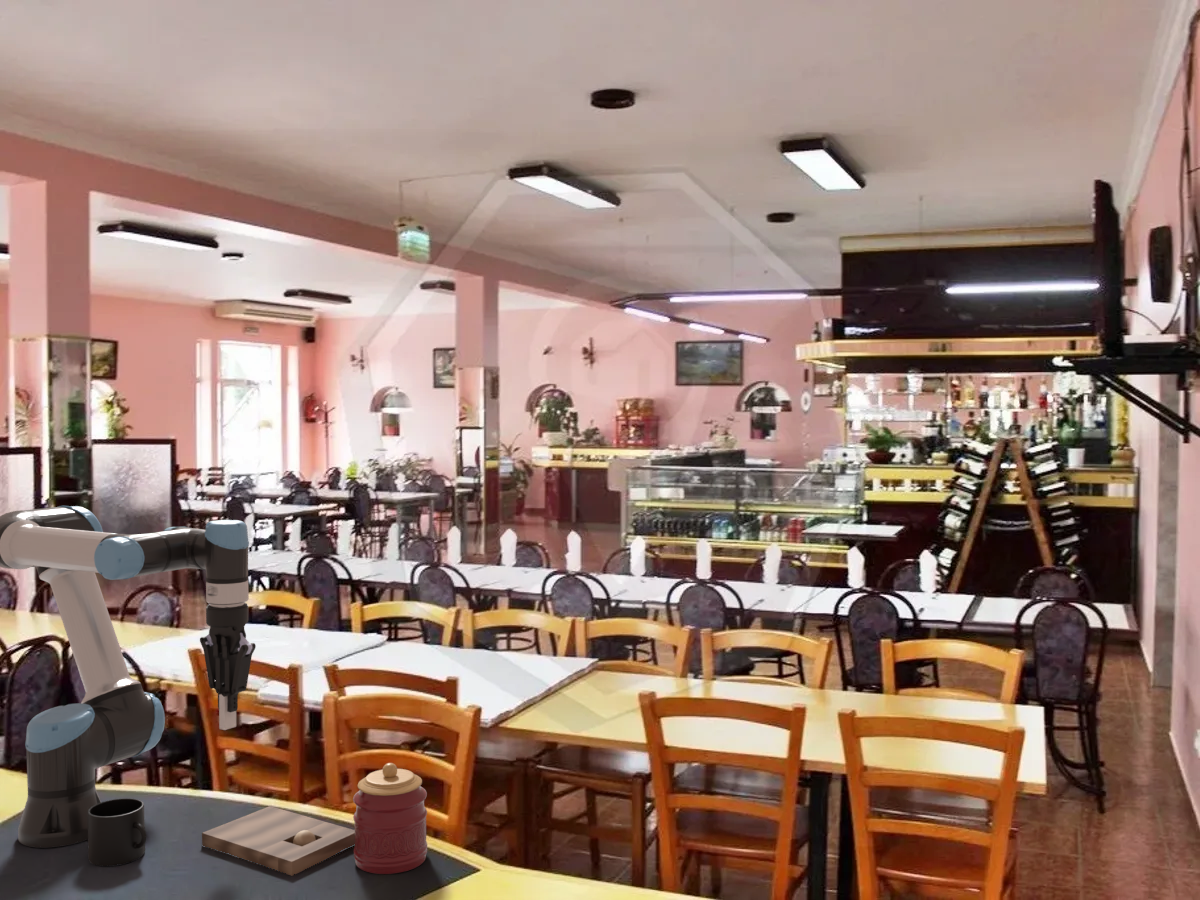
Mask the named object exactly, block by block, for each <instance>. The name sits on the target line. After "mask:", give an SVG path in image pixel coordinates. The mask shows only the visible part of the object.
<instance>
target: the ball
mask: <svg viewBox="0 0 1200 900" xmlns="http://www.w3.org/2000/svg"><path fill="white" fill-rule="evenodd" d="M315 840H316V838H315V836H314V834H313V833H312V832H310V831H308V830H303V831H300V832H299V833H297V834H296V836H295V837H294V840H293V844H295V845H299V846H304V845H307V844H309V843H311V842H313V841H315Z"/></svg>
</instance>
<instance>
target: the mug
mask: <svg viewBox="0 0 1200 900" xmlns="http://www.w3.org/2000/svg"><path fill="white" fill-rule="evenodd" d="M87 819H88V840H87V849H88V852H87V853H88V854H87V855H88V857H87V858H88V862H89V863H90V864H91V865H93V866H96V867H117V866H122V865H125V864H129V863H132V862H134V861H136V860H139V859H141V858H142V857H143V855H144V854H145V852H146V843H147V832H146V830H145V825H146V824H145V821H146V819H145V803H144V801H142V800H140V799H137V798H125V797H124V798H115V799H109V800H105V801H101V803H98V804H96V805H94V806H92V807H91V808H89V810H88V812H87Z"/></svg>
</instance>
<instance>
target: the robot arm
mask: <svg viewBox="0 0 1200 900" xmlns="http://www.w3.org/2000/svg"><path fill="white" fill-rule="evenodd" d="M249 545H250V542H249V533H248V526H247V524H246V523H245V522H244V521H242V520H238V519H233V520H232V519H219V520H218V519H217V520H210V521H208V522H207V523H206V524H205V529H201V528H194V527H193V528H192V527H188V526H184V525H183V526H169V527H167V528H165V529H164V530H162V531H155V532H149V533H141V534H140V533H139V534H125V533H116V532H115V533H113V532H104V530H103V527H102V524H101V523H100V521H99V519H98V518H97V516H95V514H94V513H93V512H92V511H91V510H89V509H87V508H85V507H83V506H78V505H75V506H74V505H73V506H72V505H71V506H69V505H59V506H57V507H56V506H55V507H47V508H46V507H44V508H35V509H25V510H13V511H9V512H6V513H3V514H2V515H1V514H0V568H3V569H8V570H9V569H10V570H11V569H12V570H27V569H30V568H35V569H36V571H37V575H38V578H39V580H41V581H44V582H46V583H48V584H49V585H50V587H51V590H52V593H53V597H54V600H55V604H56V606H57V609H58V612H59V615H60V618H61V621H62V625H63V627H64V631H65V633H66V636H67V639H68V642H69V645H70V649H71V652H72V655H73V659H74V661H75V664H76V666H77V670H78V673H79V676H80V679H81V683H82V685H83V686H82V687H83V688H84V691H85V694H84V697H83V698H82V700H81V702H79V703H78V702H77V703H68V704H66V705H58V706H54V707H51V708H49V709H46V710H44V711H43V710H42V711H41V712H40V713H38V714H36V715H34V717H32V718H31V720H29V722H28V724H27V726H26V735H25V736H26V737H25V742H24V745H25V749H26V776H27V777H26V778H27V779H26V782H27V784H26V785H27V798H26V803H25V805H24V809H23V812H22V815H21V819H20V821H19V824H18V829H17V830H18V831H17V832H18V833H17V834H18V838H17V839H18V842H19V844H21V845H23V846H26V847H30V848H43V849H44V848H58V847H65V846H71V845H74V844H78V843H81V842H85V841H88V819H87V812H88V810H89V808H91V807H92V806H94V805H96V804H98V803H101V802H102V801H101V799H100V796H99V794H98V791H97V788H96V770H97V769H99V768H102V767H105V766H108V765H110V764H114V763H116V762H119V761H123V760H125V759H129V758H135V757H137V756H139V755H141V754H143V753H145V752H148V751H150V750H152V749H153V748H154V747H156V745H157V744H158V743H159V742H160V740H161V738H162V735H163V732H164V730H165V725H166V724H165V721H166V716H165V710H164V706H163V705H162V702H161V700H160V699H159V698H158V697H156V695H155V694H154V693H150V692H147V691H144V689H143V685H142V683H141V682H140V681H139V680H136V679H134V678H132V677H131V676H130V672H129V670H128V667H127V664H126V661H125V658H124V655H123V652H122V649H121V646H120V642H119V640H118V637H117V634H116V631H115V627H114V625H113V622H112V620H111V619H112V618H111V616H110V613H109V611H108V607H107V605H106V601H105V599H104V595H103V593H102V589H101V587H100V584H99V580H98V578H97V575H96V573H97V574H100V575H101V576H103V578H104V579H106V580H111V581H112V580H114V581H115V580H129V579H131V578H137V577H142V576H147V575H151V574H157V573H158V574H159V573H166V572H170V571H171V572H172V571H177V570H183V569H184V570H185V569H197V570H199V569H200V570H203V571H205V581H206V583H205V586H206V587H205V588H206V589H205V590H206V591H205V602H206V603H208V604H207V606H206V607H205V624H206V625H207V626H209V629H208V634H207V635H206V636H201V637H200V638H199V643H200V645H201V647H202V649H203V656H204V661H205V668H206V673H207V680H208V686H209V688H210V689H214V690H215V693H216V694H217V709H218V711H219V712H218V714H219V715H218V716H219V717H218V722H219V723H218V724H219V725H218V728H219V730H223V731H226V730H230V729H234V728H236V727H237V711H238V708H239V707H238V706H239V705H238V704H239V702H238V701H239V700H238V697H239V693H242V692H246V690H247V686H248V681H249V675H250V668H251V663H252V656H253V654H254V651H255V649H256V647H257V646H256V643H255V642H251V643H250V642H249V641H248V639H247V634H246V630H245V626H246V624H248V622H249V604H248V603H247V602H248V601H249Z"/></svg>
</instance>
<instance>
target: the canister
mask: <svg viewBox="0 0 1200 900" xmlns="http://www.w3.org/2000/svg"><path fill="white" fill-rule="evenodd" d="M422 784H423V779H422V778H421V776H419V775H417V774H415V773H414V772H412V771H411V770H408V769H405V768H404V769H403V768H398V767H397V765H396V764H395V763H393V762H387V763H385V764H384V765H383V767H382V769H378V770H375V771H372V772H369V773H368V774H367V775H366V777H363V778H362V779H360V780H359V781H358V784H357V789H359V790H358V791H357V792H356V793H355V794H354V795H353V798H352V801H353V804H355V805H356V809H355V810H356V811H355V812H354V814H353V817H352V818H353V821H354V830H355V846H354V847H353V857H354V861H355V865H356V867H357V868H358V869H360V870H361V871H364V872H367V873H369V874H378V875H391V874H393V875H394V874H401V873H405V872H408V871H410V870H413V869H416V868H418V867H419V866H421V865H422V864H423V863H424V862H425V861H426V859H427V853H428V841H427V815H428V809H427V808H426V807H425V800H426V798H427V795H428V792H427V790H426V789H425V788H424V787H422V786H421V785H422Z"/></svg>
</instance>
